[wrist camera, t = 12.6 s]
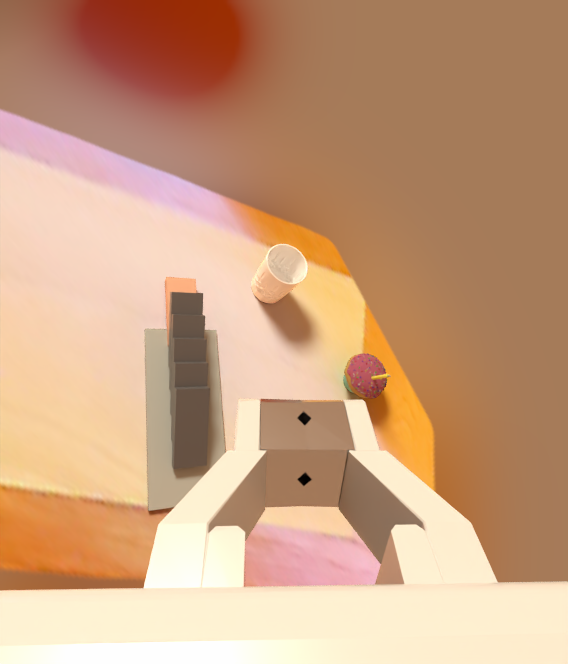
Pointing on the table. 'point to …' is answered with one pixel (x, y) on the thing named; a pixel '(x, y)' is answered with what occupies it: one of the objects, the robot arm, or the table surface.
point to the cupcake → (365, 376)
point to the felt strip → (162, 478)
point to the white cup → (279, 273)
